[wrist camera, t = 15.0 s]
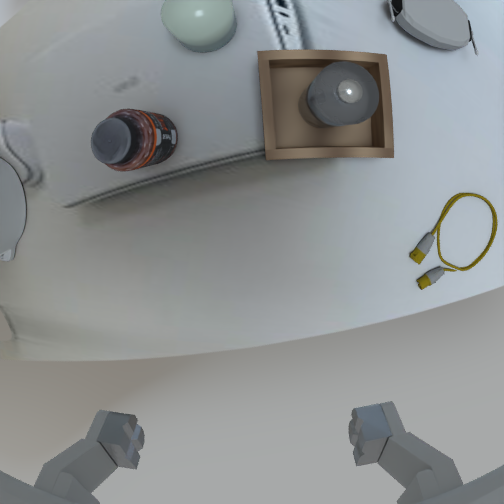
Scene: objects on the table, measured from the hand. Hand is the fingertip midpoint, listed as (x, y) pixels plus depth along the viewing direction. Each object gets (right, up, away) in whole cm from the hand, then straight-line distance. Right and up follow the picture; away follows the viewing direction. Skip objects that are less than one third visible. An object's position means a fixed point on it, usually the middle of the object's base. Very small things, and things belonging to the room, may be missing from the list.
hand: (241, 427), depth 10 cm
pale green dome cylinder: (-5, +32, +18) cm, 37 cm away
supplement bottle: (-11, +19, +23) cm, 32 cm away
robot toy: (+22, +38, +15) cm, 47 cm away
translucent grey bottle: (+8, +22, +20) cm, 31 cm away
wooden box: (+8, +22, +21) cm, 32 cm away
